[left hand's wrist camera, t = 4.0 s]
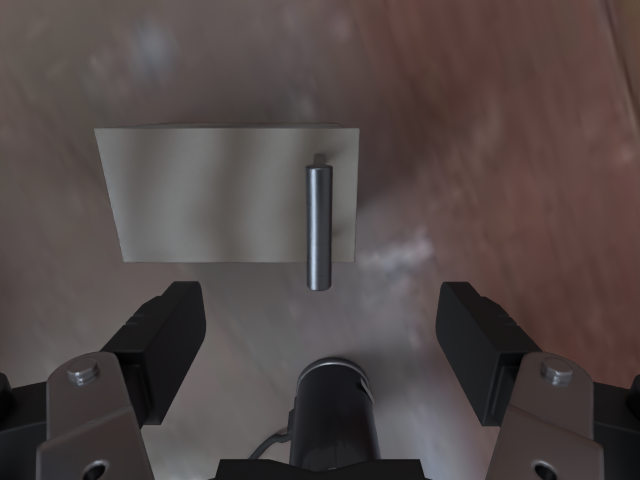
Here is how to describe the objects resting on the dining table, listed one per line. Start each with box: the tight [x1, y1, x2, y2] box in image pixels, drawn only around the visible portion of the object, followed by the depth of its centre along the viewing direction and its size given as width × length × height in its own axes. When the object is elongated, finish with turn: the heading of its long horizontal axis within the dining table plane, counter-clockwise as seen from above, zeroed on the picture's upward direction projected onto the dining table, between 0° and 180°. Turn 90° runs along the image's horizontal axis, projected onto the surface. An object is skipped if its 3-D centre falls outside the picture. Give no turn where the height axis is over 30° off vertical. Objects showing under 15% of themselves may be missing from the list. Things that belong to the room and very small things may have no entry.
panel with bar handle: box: [94, 128, 360, 291], centre depth 22 cm, size 18×10×8 cm, turn 90°
